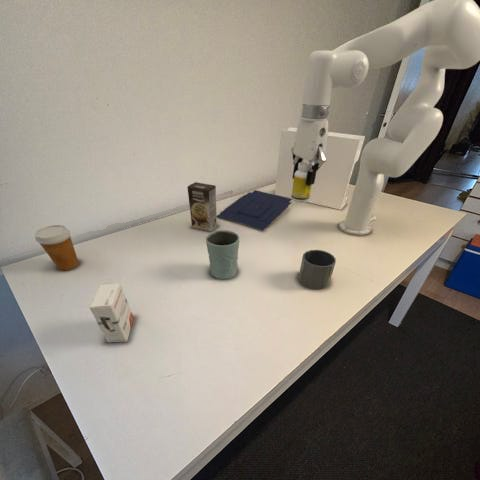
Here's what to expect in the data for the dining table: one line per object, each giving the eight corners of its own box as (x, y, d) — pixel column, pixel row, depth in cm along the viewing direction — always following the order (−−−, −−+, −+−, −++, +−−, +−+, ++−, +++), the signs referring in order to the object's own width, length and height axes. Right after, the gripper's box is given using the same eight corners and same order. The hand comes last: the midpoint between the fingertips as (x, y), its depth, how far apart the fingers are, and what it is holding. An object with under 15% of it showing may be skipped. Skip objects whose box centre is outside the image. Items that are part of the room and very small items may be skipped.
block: (274, 194, 138) (281, 129, 118) (281, 190, 143) (289, 127, 123) (340, 209, 124) (360, 139, 105) (345, 204, 129) (365, 136, 110)
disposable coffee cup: (90, 260, 90) (75, 227, 81) (68, 275, 83) (50, 240, 75) (68, 255, 92) (51, 222, 83) (45, 269, 85) (25, 235, 77)
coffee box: (191, 228, 108) (186, 186, 97) (198, 221, 113) (194, 181, 101) (211, 232, 106) (208, 189, 95) (217, 225, 110) (215, 184, 99)
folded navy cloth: (295, 205, 124) (296, 198, 121) (263, 236, 108) (263, 229, 106) (251, 194, 133) (251, 187, 130) (216, 222, 118) (215, 214, 115)
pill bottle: (308, 203, 88) (315, 167, 81) (290, 201, 89) (295, 165, 82) (309, 197, 93) (315, 161, 85) (291, 195, 94) (296, 160, 86)
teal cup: (215, 283, 81) (213, 248, 73) (203, 267, 88) (200, 233, 79) (244, 275, 85) (245, 241, 76) (230, 260, 91) (230, 227, 83)
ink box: (115, 318, 70) (99, 282, 61) (134, 317, 70) (121, 281, 62) (106, 343, 63) (87, 307, 55) (127, 342, 64) (111, 306, 56)
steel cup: (314, 268, 88) (320, 247, 82) (335, 283, 82) (342, 261, 77) (292, 276, 85) (296, 254, 79) (311, 292, 79) (317, 270, 73)
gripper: (346, 116, 70) (329, 187, 83) (305, 108, 81) (296, 172, 94) (324, 117, 68) (310, 191, 80) (286, 109, 78) (278, 175, 91)
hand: (303, 180), depth 87 cm, fingers closed on pill bottle, 6 cm apart
